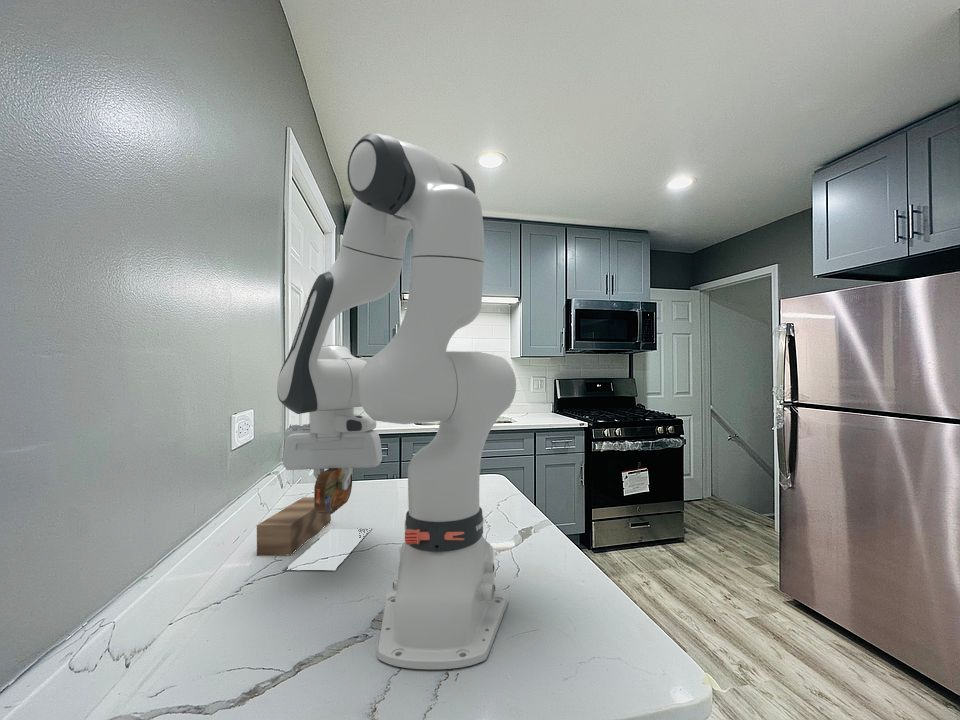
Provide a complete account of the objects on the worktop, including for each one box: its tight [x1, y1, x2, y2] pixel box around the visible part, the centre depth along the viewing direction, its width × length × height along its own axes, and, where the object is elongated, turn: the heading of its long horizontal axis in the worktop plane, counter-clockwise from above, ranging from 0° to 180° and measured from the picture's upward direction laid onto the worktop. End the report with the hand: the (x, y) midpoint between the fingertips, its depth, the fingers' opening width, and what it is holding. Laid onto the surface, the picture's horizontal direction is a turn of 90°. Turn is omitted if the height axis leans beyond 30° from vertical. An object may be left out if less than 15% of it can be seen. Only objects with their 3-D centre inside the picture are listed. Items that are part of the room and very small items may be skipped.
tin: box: [313, 468, 353, 515], centre depth 91 cm, size 15×3×8 cm, turn 177°
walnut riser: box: [256, 496, 332, 556], centre depth 98 cm, size 20×7×6 cm, turn 176°
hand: (333, 490), depth 91 cm, fingers closed on tin, 2 cm apart
